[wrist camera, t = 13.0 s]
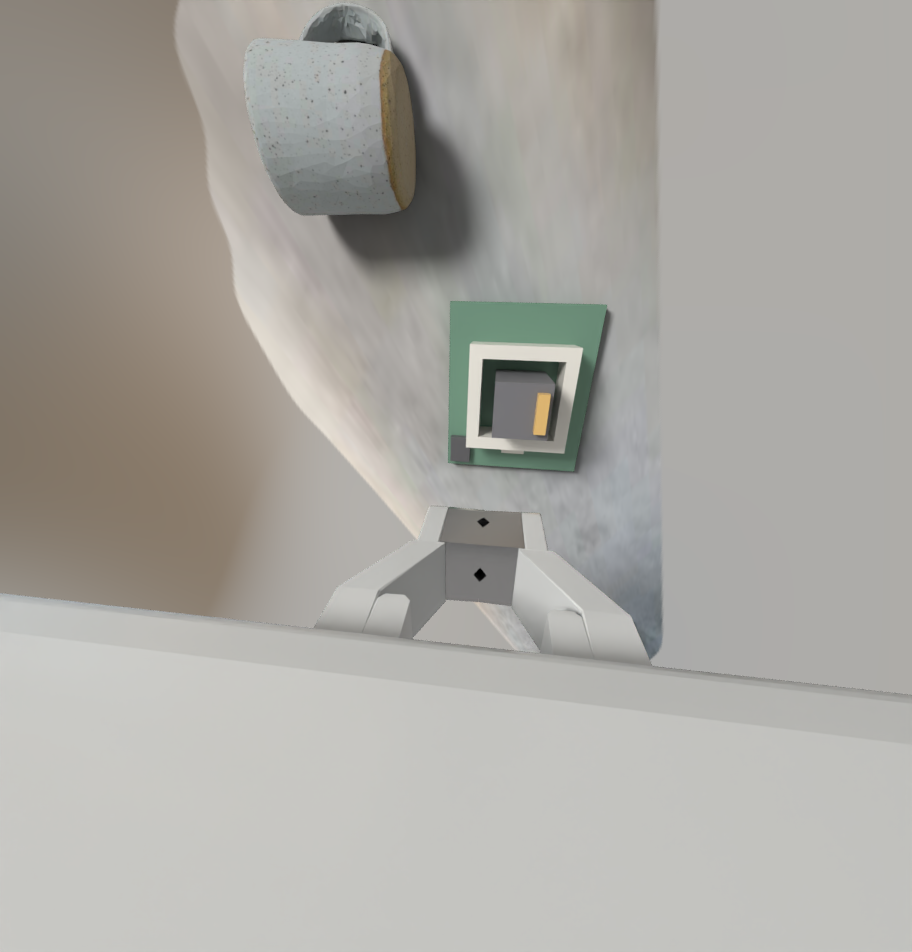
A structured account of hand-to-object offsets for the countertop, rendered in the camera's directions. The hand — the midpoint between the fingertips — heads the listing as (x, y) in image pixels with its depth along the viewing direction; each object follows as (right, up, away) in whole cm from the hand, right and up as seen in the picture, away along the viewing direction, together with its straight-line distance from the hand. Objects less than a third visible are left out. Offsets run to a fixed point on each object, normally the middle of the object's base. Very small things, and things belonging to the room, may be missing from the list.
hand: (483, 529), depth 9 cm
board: (+5, +9, +20) cm, 23 cm away
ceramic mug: (-8, +25, +14) cm, 30 cm away
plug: (+5, +9, +19) cm, 22 cm away
